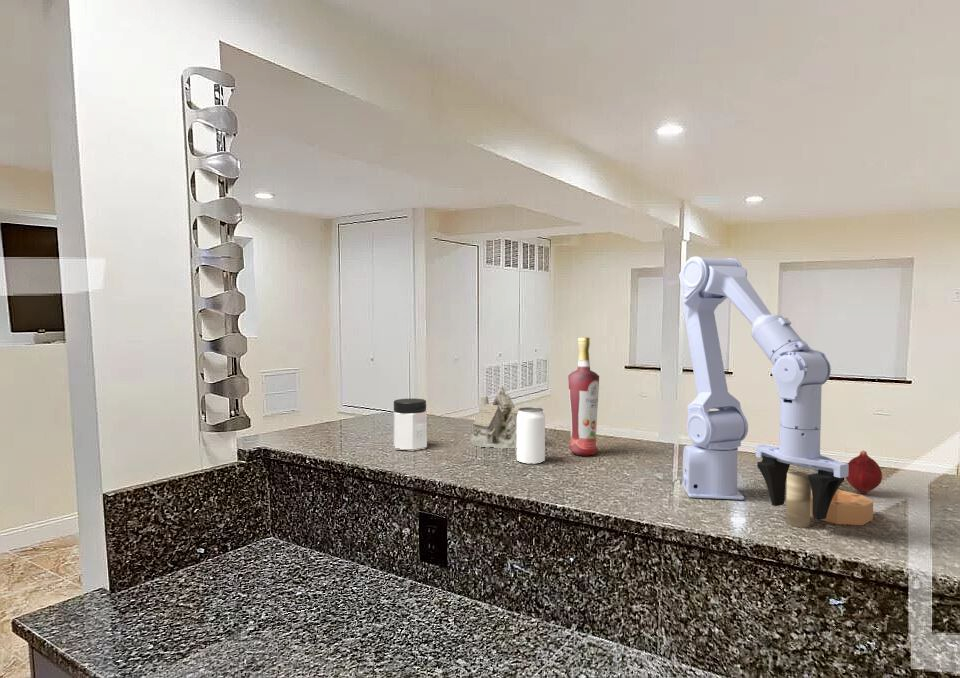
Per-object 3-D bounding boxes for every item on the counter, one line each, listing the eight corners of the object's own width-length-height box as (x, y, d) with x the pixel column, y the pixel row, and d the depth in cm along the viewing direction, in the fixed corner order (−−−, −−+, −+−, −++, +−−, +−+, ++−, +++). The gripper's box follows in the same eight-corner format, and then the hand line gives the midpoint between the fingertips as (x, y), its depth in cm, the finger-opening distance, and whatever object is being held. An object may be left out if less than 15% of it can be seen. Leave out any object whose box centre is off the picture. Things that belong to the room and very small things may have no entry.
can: (512, 463, 133) (512, 410, 132) (521, 456, 139) (521, 406, 138) (540, 466, 130) (540, 412, 130) (548, 459, 136) (548, 407, 136)
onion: (887, 499, 106) (888, 455, 106) (852, 497, 107) (853, 454, 107) (872, 490, 112) (874, 448, 112) (839, 488, 113) (840, 447, 113)
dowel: (790, 527, 92) (791, 476, 92) (782, 519, 96) (783, 471, 95) (813, 528, 92) (814, 477, 91) (805, 520, 95) (806, 472, 95)
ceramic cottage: (461, 442, 154) (465, 385, 153) (509, 436, 164) (513, 383, 163) (498, 457, 142) (502, 396, 141) (547, 450, 152) (552, 393, 151)
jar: (405, 453, 142) (405, 404, 141) (386, 448, 148) (385, 400, 147) (434, 447, 148) (434, 400, 148) (414, 442, 154) (414, 397, 154)
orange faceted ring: (818, 523, 94) (818, 504, 94) (796, 504, 103) (797, 487, 103) (881, 526, 93) (881, 507, 92) (853, 507, 102) (854, 490, 102)
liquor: (584, 459, 136) (585, 338, 135) (561, 453, 142) (562, 337, 141) (605, 454, 141) (606, 337, 140) (581, 449, 146) (582, 336, 145)
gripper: (862, 432, 88) (860, 521, 89) (776, 417, 101) (774, 495, 102) (832, 436, 85) (830, 529, 86) (747, 420, 98) (746, 501, 99)
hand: (798, 511), depth 94 cm, fingers open, 7 cm apart
